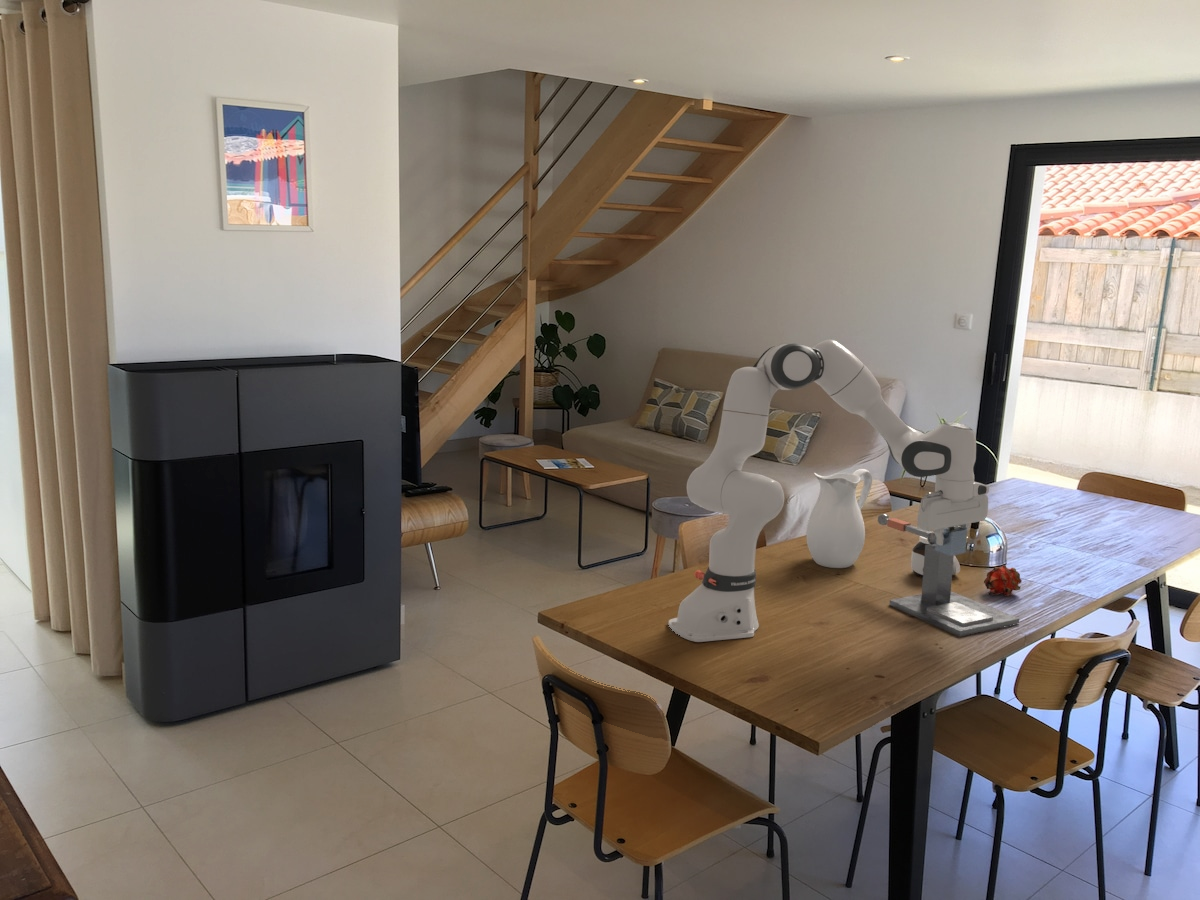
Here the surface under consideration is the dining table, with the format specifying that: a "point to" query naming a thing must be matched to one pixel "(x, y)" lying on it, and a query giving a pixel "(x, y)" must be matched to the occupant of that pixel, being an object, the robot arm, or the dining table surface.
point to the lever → (906, 527)
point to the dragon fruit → (1002, 580)
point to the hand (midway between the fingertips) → (950, 542)
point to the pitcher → (838, 519)
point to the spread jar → (919, 555)
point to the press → (949, 601)
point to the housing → (953, 541)
